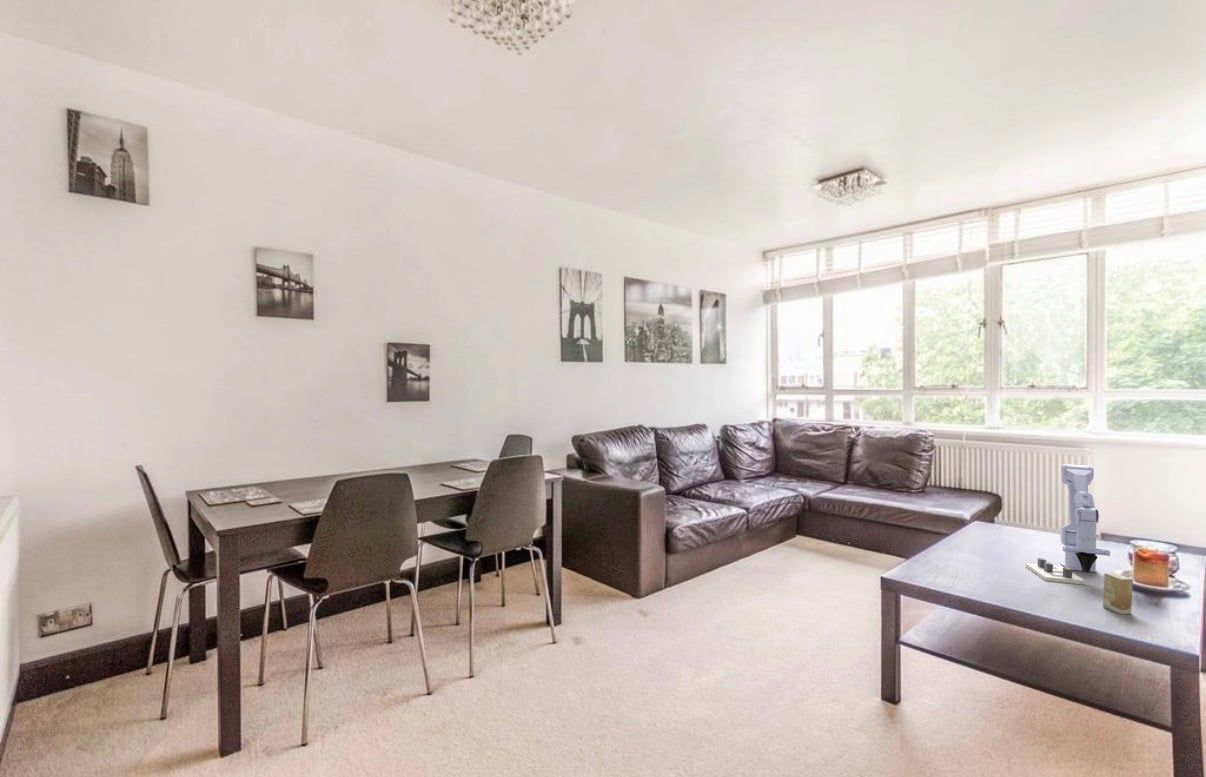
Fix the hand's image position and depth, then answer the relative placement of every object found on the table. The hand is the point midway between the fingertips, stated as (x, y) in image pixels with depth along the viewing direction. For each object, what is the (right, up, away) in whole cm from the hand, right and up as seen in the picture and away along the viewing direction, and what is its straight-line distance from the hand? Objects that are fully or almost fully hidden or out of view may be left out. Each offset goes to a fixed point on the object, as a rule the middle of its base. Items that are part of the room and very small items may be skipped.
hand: (1085, 571), depth 212 cm
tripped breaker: (-6, -2, +2) cm, 6 cm away
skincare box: (-13, -5, -26) cm, 30 cm away
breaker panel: (-6, -4, +8) cm, 11 cm away
